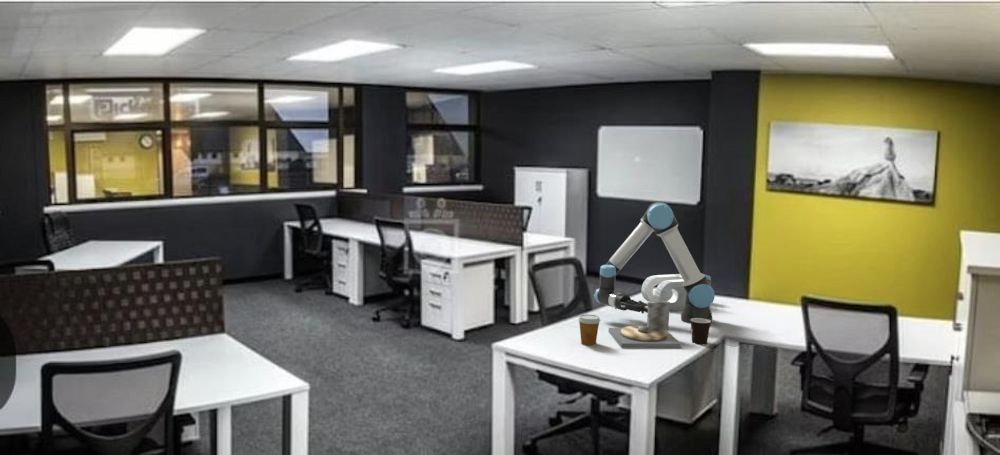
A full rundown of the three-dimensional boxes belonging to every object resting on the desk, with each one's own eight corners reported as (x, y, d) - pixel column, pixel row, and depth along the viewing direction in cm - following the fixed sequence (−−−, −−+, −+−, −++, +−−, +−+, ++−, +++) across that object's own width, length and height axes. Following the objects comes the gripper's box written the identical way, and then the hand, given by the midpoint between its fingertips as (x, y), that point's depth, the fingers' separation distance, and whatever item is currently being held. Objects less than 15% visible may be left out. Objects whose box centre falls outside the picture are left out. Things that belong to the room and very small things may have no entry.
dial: (633, 342, 308) (635, 309, 306) (613, 330, 327) (614, 299, 325) (678, 338, 314) (680, 306, 313) (656, 327, 333) (657, 296, 332)
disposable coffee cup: (603, 343, 313) (604, 316, 312) (590, 347, 306) (591, 320, 305) (586, 339, 320) (586, 313, 318) (573, 343, 313) (573, 316, 311)
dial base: (663, 331, 334) (663, 327, 334) (680, 347, 309) (681, 342, 308) (608, 331, 333) (608, 326, 332) (621, 348, 307) (621, 342, 307)
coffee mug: (706, 346, 312) (707, 324, 310) (686, 343, 316) (688, 321, 315) (713, 340, 321) (715, 318, 320) (694, 337, 326) (695, 315, 325)
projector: (659, 310, 376) (660, 282, 374) (640, 303, 394) (641, 275, 392) (715, 306, 388) (716, 279, 386) (695, 299, 405) (696, 273, 404)
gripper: (629, 307, 346) (665, 318, 326) (609, 310, 339) (645, 321, 319) (630, 292, 345) (666, 302, 325) (610, 295, 338) (646, 305, 318)
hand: (656, 312), depth 322 cm, fingers closed
